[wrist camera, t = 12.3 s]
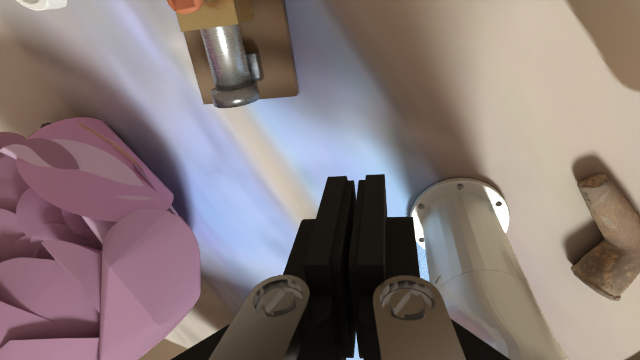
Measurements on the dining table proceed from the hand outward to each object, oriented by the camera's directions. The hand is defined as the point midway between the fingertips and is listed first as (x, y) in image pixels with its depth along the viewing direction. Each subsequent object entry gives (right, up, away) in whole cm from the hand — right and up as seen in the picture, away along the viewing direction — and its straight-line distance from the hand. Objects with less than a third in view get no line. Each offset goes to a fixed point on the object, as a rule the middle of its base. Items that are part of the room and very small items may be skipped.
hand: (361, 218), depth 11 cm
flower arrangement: (-31, -2, +47) cm, 57 cm away
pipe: (+34, -5, +38) cm, 51 cm away
